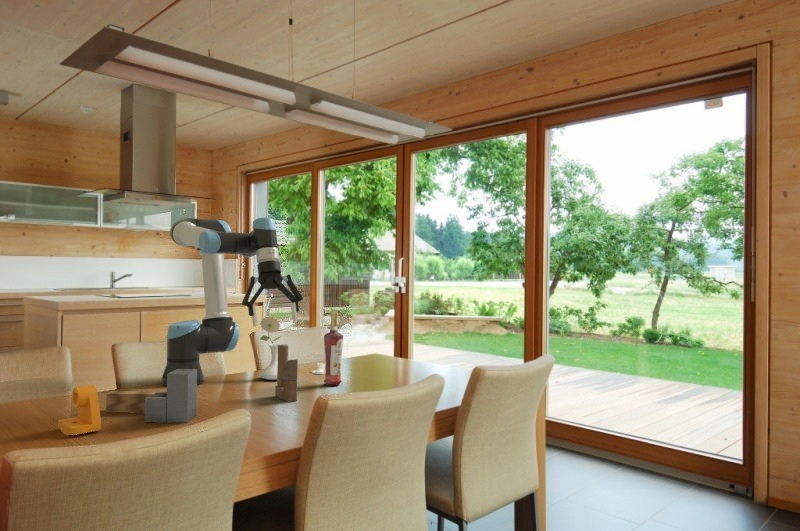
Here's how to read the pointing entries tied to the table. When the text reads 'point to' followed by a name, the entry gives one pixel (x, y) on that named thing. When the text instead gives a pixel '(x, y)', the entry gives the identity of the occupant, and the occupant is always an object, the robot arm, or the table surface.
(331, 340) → the liquor
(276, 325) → the flower in vase
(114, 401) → the brown wooden bar
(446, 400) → the table surface
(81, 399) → the bracket
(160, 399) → the grey stepped block
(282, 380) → the wooden block
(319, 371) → the teacup and saucer
